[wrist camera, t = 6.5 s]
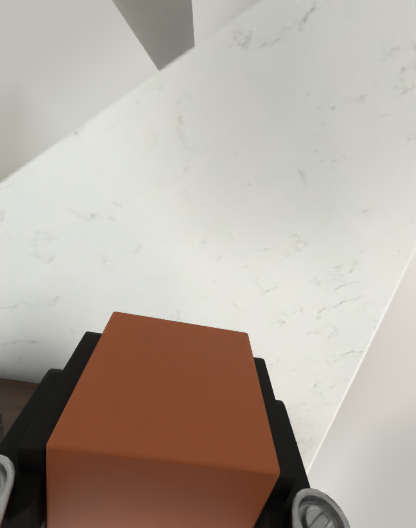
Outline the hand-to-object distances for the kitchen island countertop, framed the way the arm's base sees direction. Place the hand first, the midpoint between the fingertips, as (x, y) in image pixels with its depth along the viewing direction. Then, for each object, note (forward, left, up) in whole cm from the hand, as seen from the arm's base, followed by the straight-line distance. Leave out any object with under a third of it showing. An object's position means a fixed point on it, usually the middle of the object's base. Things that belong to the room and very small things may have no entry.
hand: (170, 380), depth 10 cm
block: (0, 0, 0) cm, 0 cm away
